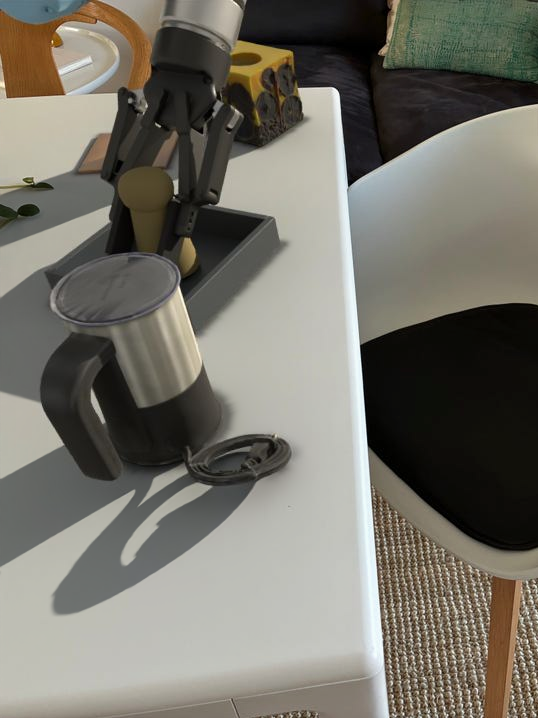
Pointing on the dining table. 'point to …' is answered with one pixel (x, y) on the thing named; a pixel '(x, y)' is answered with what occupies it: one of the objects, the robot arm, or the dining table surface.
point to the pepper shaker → (153, 212)
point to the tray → (200, 257)
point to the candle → (262, 92)
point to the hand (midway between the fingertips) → (140, 261)
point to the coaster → (100, 146)
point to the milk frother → (138, 377)
